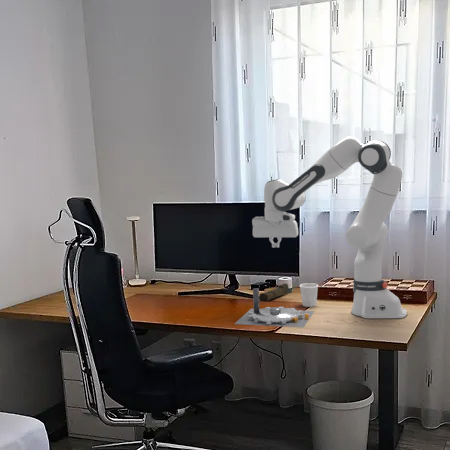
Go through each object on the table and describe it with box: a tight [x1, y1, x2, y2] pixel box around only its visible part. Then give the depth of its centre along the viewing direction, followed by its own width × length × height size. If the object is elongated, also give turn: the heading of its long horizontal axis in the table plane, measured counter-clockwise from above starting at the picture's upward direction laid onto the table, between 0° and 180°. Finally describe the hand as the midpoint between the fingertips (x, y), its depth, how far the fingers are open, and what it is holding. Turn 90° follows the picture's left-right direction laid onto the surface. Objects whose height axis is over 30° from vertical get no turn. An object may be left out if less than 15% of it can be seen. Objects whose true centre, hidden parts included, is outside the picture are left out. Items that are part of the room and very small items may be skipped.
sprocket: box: [248, 288, 303, 324], centre depth 239 cm, size 23×23×12 cm
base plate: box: [234, 308, 315, 328], centre depth 240 cm, size 28×25×3 cm
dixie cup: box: [299, 282, 319, 308], centre depth 258 cm, size 8×8×10 cm
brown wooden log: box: [259, 283, 290, 303], centre depth 279 cm, size 23×5×6 cm, turn 140°
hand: (275, 247), depth 259 cm, fingers closed
